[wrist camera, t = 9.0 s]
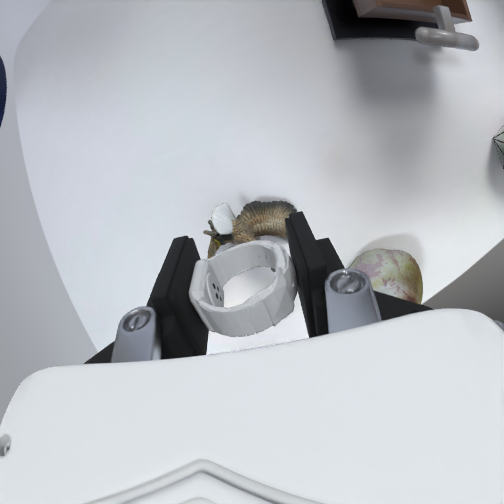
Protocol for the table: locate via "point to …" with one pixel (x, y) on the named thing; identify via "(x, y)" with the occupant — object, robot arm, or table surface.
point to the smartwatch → (255, 308)
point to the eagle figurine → (247, 223)
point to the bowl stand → (368, 24)
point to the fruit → (392, 273)
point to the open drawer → (425, 19)
